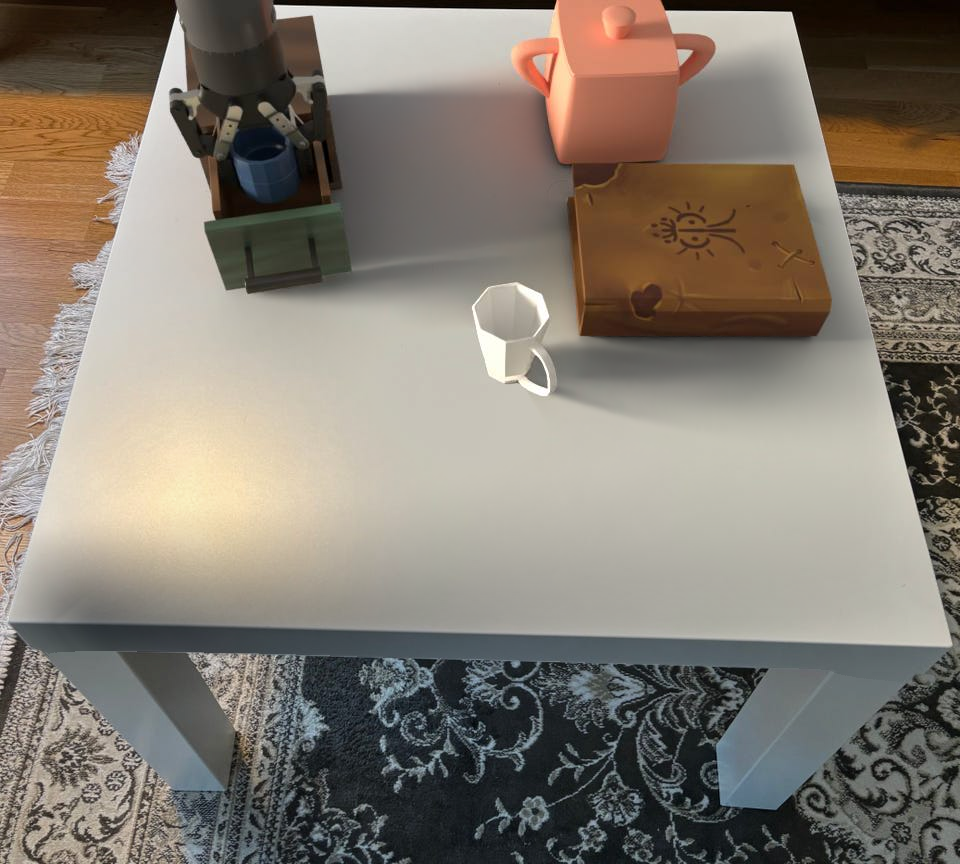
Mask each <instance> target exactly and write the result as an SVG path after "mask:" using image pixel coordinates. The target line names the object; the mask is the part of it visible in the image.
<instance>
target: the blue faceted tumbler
mask: <svg viewBox="0 0 960 864" xmlns="http://www.w3.org/2000/svg"><path fill="white" fill-rule="evenodd" d="M229 153H230V156H231V160H232V163H233V166H234V170H235V173H236V176H237V180H238V183H239V187H240V189H241V191H242V192H243V193H244V194H245V196H246V197H247V198H249V199H252V200H254V201H257V202H260V203H267V204H271V203H278V202H281V201H284V200H286V199H287V198H289V197H290V196H291V195H292V194H294V193H295V192H296V191H297V190H298V188H299V186H300V184H301V182H302V179H301V176H300V171H299V166H298V162H297V157H296V152H295V146H294V144H293V143H292V142H291V140H290V139H289V138H288V137H287V136H286V137H284V136H283V135H282V134H281V133H280V132H279V130H278V129H277V128H276V127H275V126H274V125H273V127H267V128H261V127H255V128H252V129H249V130H244V131H239V129H237V130H236V133H235V137H234V140H233V143H232V144H231V145H230V148H229Z"/></svg>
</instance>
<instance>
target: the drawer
mask: <svg viewBox="0 0 960 864" xmlns="http://www.w3.org/2000/svg"><path fill="white" fill-rule="evenodd" d="M308 121H310V120H306V121H302V122H303V123H306V122H308ZM207 135H211V136H212V135H213V133H207ZM310 150H311V155H312V160H313V167H314V168H313V171H312V172H307V173H308V178H303V179H302V182H301V184H300V186H299V188H298V190H297V191H296V192H295V193H294V194H292V195H291V196H290V197H289V198H287V199H286V200H284V201H281V202H278V203H271V204H267V203H260V202H257V201H254V200H252V199H249V198H247V197H246V196H245V194H244V193H243V192H242V191H241V189H240V187H239V188H232V187H231V184H230V183H228V184H225V182H224V181H223V180H222V177H221V174H220V171H219V168H218V165H217V161H216V159H215V158H213V157H212V156H208V158H209V171H210V185H211V192H210V197H211V211H212V214H213V217H214V220H207V221H203V230H204V234H205V237H206V239H207V241H208V245H209V247H210V251H211V253H212V256H213V259H214V262H215V265H216V267H217V270H218V272H219V275H220V278H221V281H222V283H223V287H224V289H225V291H231V290H232V291H234V290H240V289H245V290H246V293H247V295H252V294H258V293H259V294H261V293H265V292H272V291H278V290H286V289H292V288H298V287H306V286H312V285H318V284H323V283H324V277H326V276H332V275H339V274H346V273H352V272H353V269H352V265H351V264H352V263H351V258H350V251H349V247H348V240H347V235H346V229H345V223H344V216H343V212H342V206H341V205H342V204H341V202H335V203H334V202H333V200H332V195H331V194H332V193H331V190H330V187H329V181H328V175H327V170H326V164H325V159H324V153H323V147H322V142H318V141H314V142H312V143H311V145H310Z"/></svg>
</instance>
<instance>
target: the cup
mask: <svg viewBox="0 0 960 864" xmlns="http://www.w3.org/2000/svg"><path fill="white" fill-rule="evenodd" d="M471 309H472V314H473V318H474V322H475V328H476V331H477V337H478V341H479V345H480V348H481V351H482V355H483V358H484V361H485V365H486V368H487V372H488V375H489V377H491V378H493V379H495V380H496V381H499V382H500V383H503V384H505V385H506V384H510V383H515V382H518V383H519V384H520V386H522V387H523V388H524V389H526V390H527V391H529V392H531V393H534V394H536V395H539V396H541V397H542V396H543V397H547V396H549V395H551V394H552V393H553V392H554V391H555V390H556V389H557V385H558V384H557V381H558V379H557V371H556V368H555V366H554V363H553V362H554V361H553V359H552V357H551V356H550V354H549V353H548V351H546V349H545V348H544V347H543V346H542V342H543V340H544V337H545V334H546V332H547V329H548V326H549V324H550V321H551V318H552V316H551V313H550V311H549V309H548V305H547V302H546V299H545V297H544V294H543V293H541V292H539V291H537V290H534V289H533V288H530V287H528V286H527V285H524V284H522V283H520V282H519V281H515V282H509V283H503V284H497V285H492V286H487V288H485V290H484V291H483V292H482V294H481V295H480V296H479V297H478V298H477V300H476V301H475V303H473V305H472V306H471ZM536 356H537V358H539V360H540V361H541V363H542V365H543V368H544V371H545V373H546V378H547V388H546V387H543V386H540V385H537V384H536V383H534V382H533V381H530V380H529V379H528V377H526V376H527V374H528V373H529V371H530V370H531V368H532V362H533V361H534V359H535V358H536Z"/></svg>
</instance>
